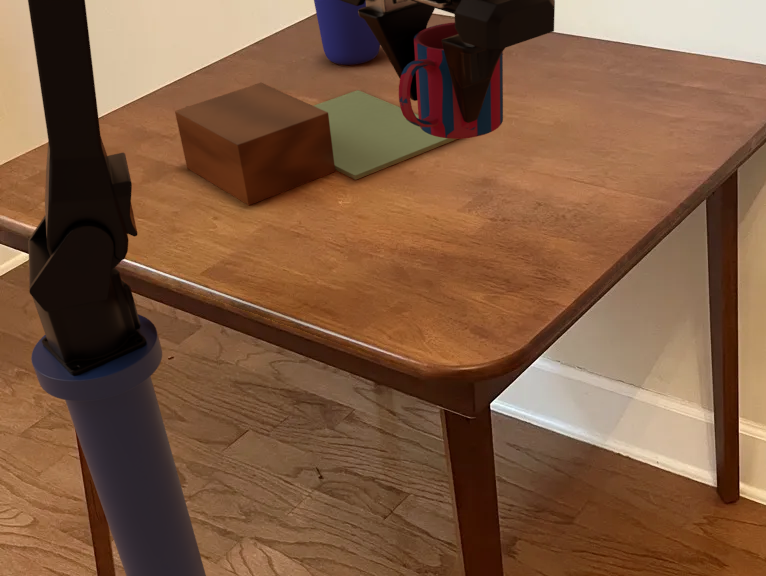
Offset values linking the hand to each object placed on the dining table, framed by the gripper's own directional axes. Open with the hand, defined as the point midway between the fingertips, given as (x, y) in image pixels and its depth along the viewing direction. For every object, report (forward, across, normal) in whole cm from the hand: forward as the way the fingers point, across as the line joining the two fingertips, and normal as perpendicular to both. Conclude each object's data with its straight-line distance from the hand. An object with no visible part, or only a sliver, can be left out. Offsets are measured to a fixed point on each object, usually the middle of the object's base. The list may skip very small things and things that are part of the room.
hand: (443, 109), depth 80 cm
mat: (+12, +25, -8) cm, 29 cm away
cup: (+2, 0, 0) cm, 2 cm away
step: (+12, +25, +4) cm, 28 cm away
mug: (+12, +44, -23) cm, 51 cm away
